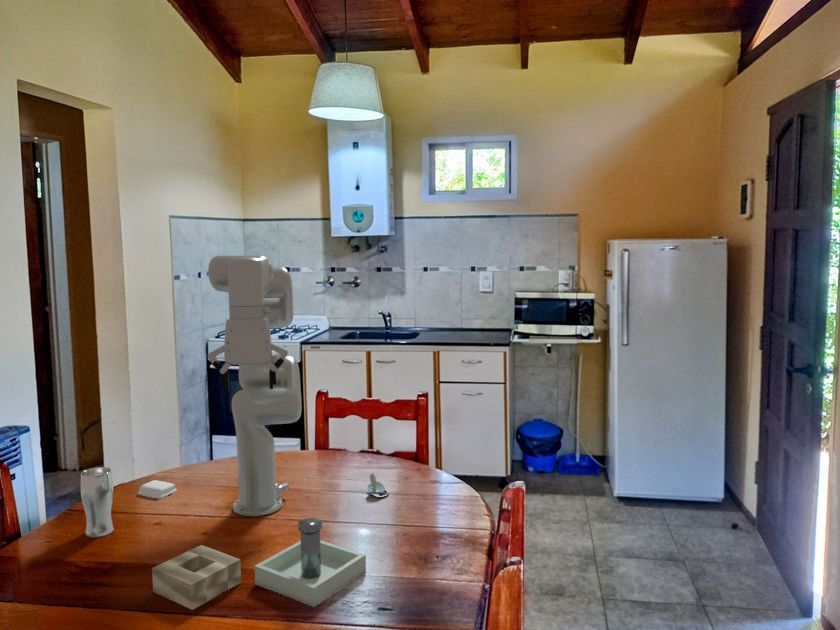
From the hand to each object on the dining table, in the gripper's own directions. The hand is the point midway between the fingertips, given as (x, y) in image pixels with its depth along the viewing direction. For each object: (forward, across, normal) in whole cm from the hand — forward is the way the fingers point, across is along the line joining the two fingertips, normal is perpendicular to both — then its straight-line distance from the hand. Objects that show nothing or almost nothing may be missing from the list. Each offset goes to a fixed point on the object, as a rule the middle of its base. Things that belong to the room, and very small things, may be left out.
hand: (249, 389), depth 150 cm
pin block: (+36, +11, +18) cm, 42 cm away
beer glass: (+36, +37, -14) cm, 54 cm away
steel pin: (+35, -12, +19) cm, 42 cm away
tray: (+36, -12, +19) cm, 43 cm away
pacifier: (+37, -32, -23) cm, 54 cm away
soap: (+37, +28, -38) cm, 59 cm away
